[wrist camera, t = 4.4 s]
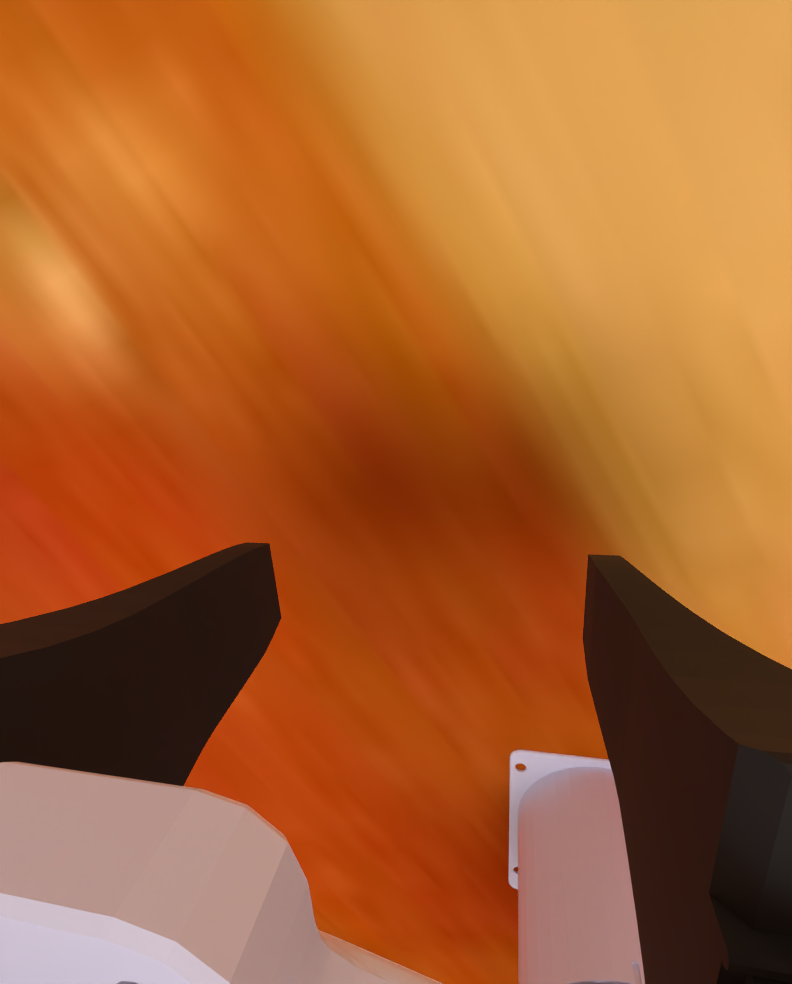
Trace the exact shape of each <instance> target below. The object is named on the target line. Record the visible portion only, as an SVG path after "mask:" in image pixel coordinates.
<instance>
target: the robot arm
mask: <svg viewBox="0 0 792 984" xmlns="http://www.w3.org/2000/svg"><path fill="white" fill-rule="evenodd" d="M280 619H281V613H280V607H279V601H278V594H277V588H276V582H275V576H274V570H273V563H272V557H271V551H270V545H269V544H268V543H243V544H239V545H236V546H232V547H230V548H227V549H224V550H221V551H219V552H216V553H214V554H211V555H209V556H207V557H204V558H202V559H199V560H197V561H195V562H192V563H190V564H188V565H185V566H183V567H181V568H178V569H176V570H174V571H171V572H169V573H166V574H164V575H161V576H159V577H156V578H154V579H151V580H148V581H146V582H143V583H141V584H138V585H136V586H133V587H131V588H128V589H126V590H123V591H120V592H117V593H114V594H111V595H108V596H105V597H103V598H99V599H96V600H93V601H90V602H87V603H83V604H80V605H77V606H73V607H70V608H66V609H63V610H59V611H55V612H50V613H46V614H42V615H38V616H34V617H30V618H26V619H22V620H18V621H14V622H9V623H4V624H0V984H443V983H441V982H438V981H436V980H434V979H432V978H429V977H427V976H425V975H422V974H420V973H418V972H415V971H413V970H411V969H409V968H406V967H404V966H402V965H399V964H397V963H395V962H393V961H390V960H388V959H386V958H383V957H381V956H379V955H376V954H374V953H372V952H370V951H367V950H365V949H363V948H360V947H358V946H356V945H353V944H351V943H349V942H347V941H344V940H342V939H340V938H337V937H335V936H333V935H330V934H328V933H325V932H323V931H320V930H318V928H317V926H316V923H315V919H314V914H313V908H312V902H311V897H310V891H309V885H308V881H307V879H306V877H305V875H304V873H303V871H302V869H301V867H300V865H299V863H298V861H297V859H296V857H295V855H294V853H293V851H292V849H291V847H290V845H289V843H288V841H287V839H286V837H285V835H284V834H283V833H281V832H280V831H279V830H278V829H276V828H275V827H274V826H273V825H272V824H270V823H269V822H268V821H267V820H265V819H264V818H263V817H262V816H260V815H259V814H258V813H257V812H256V811H254V810H253V809H252V808H251V807H249V806H248V805H246V804H244V803H241V802H238V801H235V800H232V799H229V798H226V797H224V796H221V795H218V794H215V793H212V792H209V791H207V790H204V789H198V788H192V787H185V786H183V785H184V783H185V782H186V780H187V778H188V776H189V774H190V772H191V770H192V768H193V766H194V764H195V762H196V761H197V759H198V757H199V755H200V753H201V751H202V749H203V747H204V746H205V744H206V742H207V741H208V739H209V738H210V736H211V734H212V733H213V731H214V729H215V728H216V726H217V725H218V723H219V722H220V720H221V719H222V717H223V716H224V714H225V713H226V711H227V710H228V708H229V707H230V705H231V704H232V702H233V701H234V699H235V698H236V696H237V695H238V693H239V692H240V690H241V689H242V687H243V686H244V684H245V683H246V681H247V680H248V678H249V677H250V675H251V674H252V672H253V671H254V669H255V668H256V666H257V665H258V663H259V662H260V660H261V658H262V657H263V655H264V654H265V652H266V650H267V648H268V646H269V644H270V642H271V640H272V638H273V635H274V633H275V631H276V628H277V626H278V624H279V622H280ZM583 643H584V652H585V660H586V668H587V676H588V681H589V685H590V689H591V693H592V697H593V701H594V705H595V709H596V712H597V716H598V720H599V724H600V728H601V731H602V735H603V739H604V743H605V746H606V750H607V754H608V758H609V759H601V758H592V757H583V756H575V755H566V754H557V753H548V752H539V751H530V750H522V749H519V750H514V751H513V752H512V753H511V754H510V796H509V884H510V885H511V886H512V887H513V888H515V889H518V983H519V984H792V669H790V668H787V667H785V666H783V665H781V664H779V663H777V662H775V661H773V660H772V659H770V658H768V657H766V656H764V655H762V654H760V653H758V652H757V651H755V650H753V649H751V648H750V647H748V646H746V645H744V644H742V643H741V642H739V641H737V640H735V639H734V638H732V637H730V636H728V635H727V634H725V633H724V632H722V631H720V630H719V629H717V628H716V627H714V626H713V625H711V624H710V623H708V622H707V621H705V620H704V619H702V618H701V617H699V616H698V615H696V614H695V613H693V612H692V611H690V610H689V609H688V608H686V607H685V606H683V605H682V604H681V603H679V602H678V601H677V600H675V599H674V598H673V597H671V596H670V595H669V594H667V593H666V592H665V591H664V590H662V589H661V588H660V587H658V586H657V585H656V584H655V583H653V582H652V581H651V580H650V579H648V578H647V577H646V576H645V575H644V574H642V573H641V572H640V571H639V570H637V569H636V568H635V567H634V566H633V565H631V564H630V563H629V562H628V561H626V560H625V559H624V558H622V557H621V556H614V555H588V568H587V583H586V598H585V613H584V628H583ZM519 763H521V764H524V765H525V766H526V769H524V770H519V769H517V768H516V767H515V765H516V764H519ZM515 867H518V872H517V871H515V870H514V868H515Z"/></svg>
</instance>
